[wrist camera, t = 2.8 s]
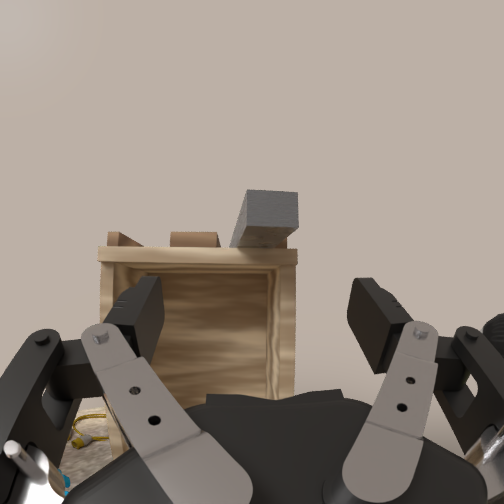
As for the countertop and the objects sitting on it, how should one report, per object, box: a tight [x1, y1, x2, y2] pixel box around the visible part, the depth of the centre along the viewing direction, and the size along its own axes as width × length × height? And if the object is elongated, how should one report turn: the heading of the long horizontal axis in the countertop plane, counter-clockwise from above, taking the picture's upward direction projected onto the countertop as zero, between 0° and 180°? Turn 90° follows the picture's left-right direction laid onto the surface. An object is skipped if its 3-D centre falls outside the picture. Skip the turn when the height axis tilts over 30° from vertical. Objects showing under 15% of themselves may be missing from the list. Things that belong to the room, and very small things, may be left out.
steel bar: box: [229, 190, 299, 248], centre depth 32 cm, size 24×4×2 cm, turn 7°
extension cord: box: [67, 414, 109, 449], centre depth 44 cm, size 12×16×2 cm
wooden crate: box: [97, 232, 298, 460], centre depth 35 cm, size 16×20×32 cm
